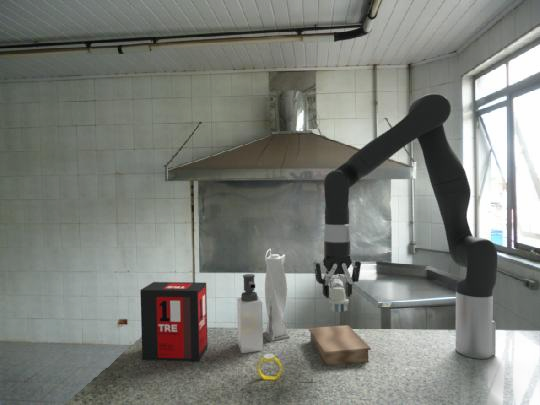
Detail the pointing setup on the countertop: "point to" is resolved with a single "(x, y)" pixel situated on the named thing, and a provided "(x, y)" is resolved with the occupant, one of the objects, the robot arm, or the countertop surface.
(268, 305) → the skyscraper
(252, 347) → the soap dispenser
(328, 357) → the stand
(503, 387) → the countertop surface
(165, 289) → the cleaning product box
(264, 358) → the watch
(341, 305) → the white handheld device
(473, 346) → the robot arm
